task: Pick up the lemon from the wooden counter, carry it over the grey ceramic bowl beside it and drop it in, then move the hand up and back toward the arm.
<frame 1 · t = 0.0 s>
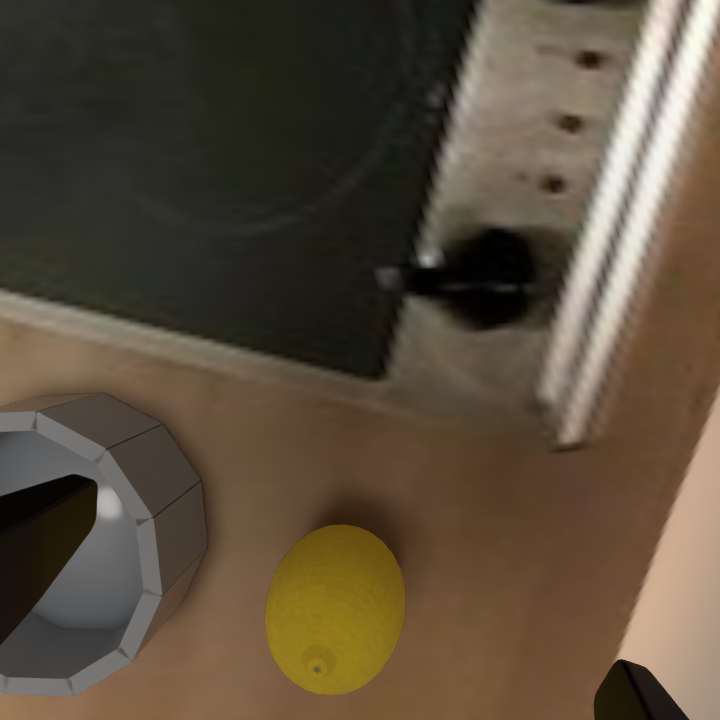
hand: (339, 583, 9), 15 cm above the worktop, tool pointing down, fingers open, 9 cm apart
lemon: (352, 551, 25), on the worktop
bowl: (88, 515, 26), on the worktop
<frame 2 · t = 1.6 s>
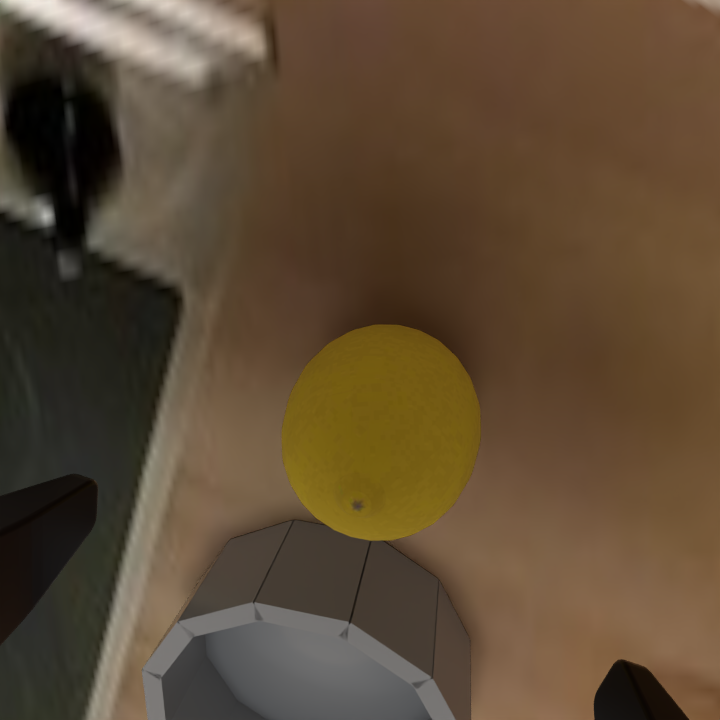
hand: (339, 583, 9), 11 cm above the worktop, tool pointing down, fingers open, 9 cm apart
lemon: (400, 370, 19), on the worktop
bowl: (326, 638, 24), on the worktop
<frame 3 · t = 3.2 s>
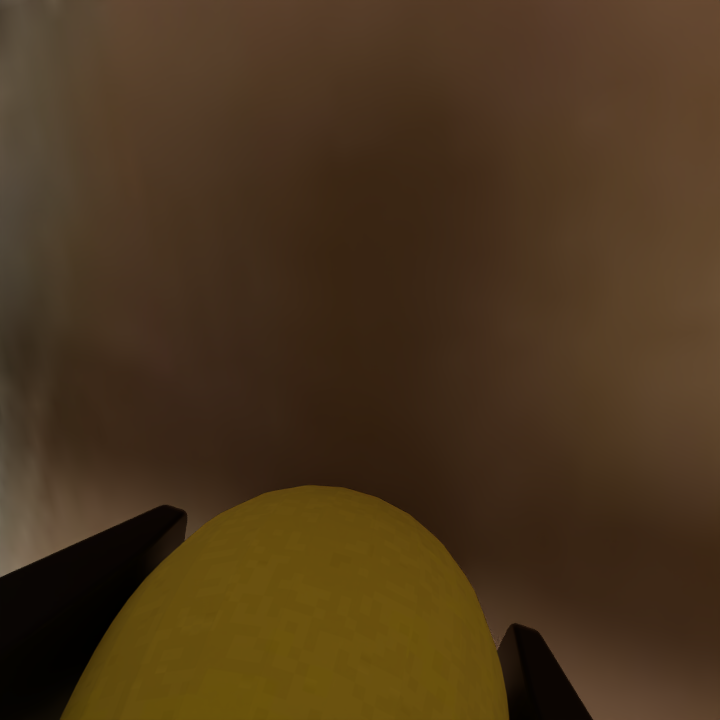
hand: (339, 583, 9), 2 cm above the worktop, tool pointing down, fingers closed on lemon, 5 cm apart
lemon: (358, 521, 11), on the worktop, touching gripper
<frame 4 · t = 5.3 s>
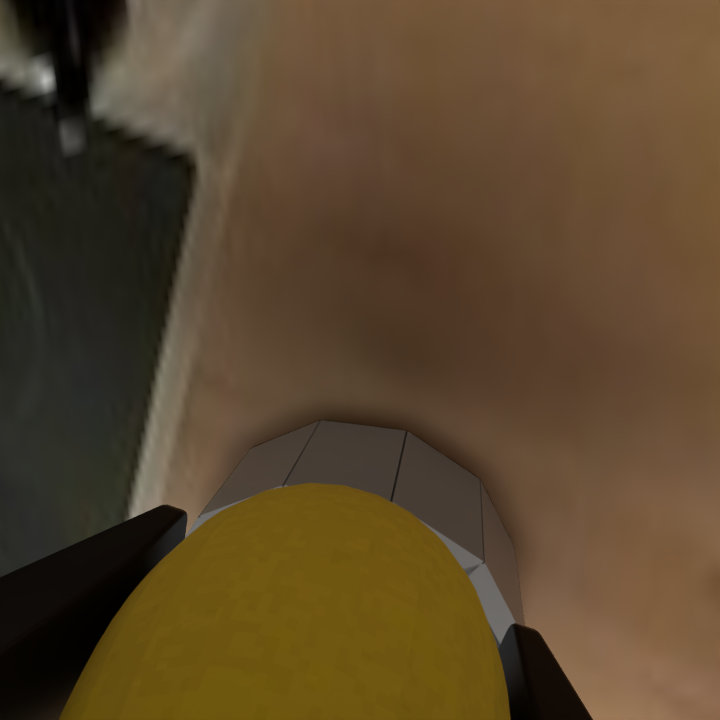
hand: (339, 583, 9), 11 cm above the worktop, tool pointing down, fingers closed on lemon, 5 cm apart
lemon: (358, 520, 11), point 9 cm above the worktop, touching gripper
bowl: (357, 556, 22), on the worktop
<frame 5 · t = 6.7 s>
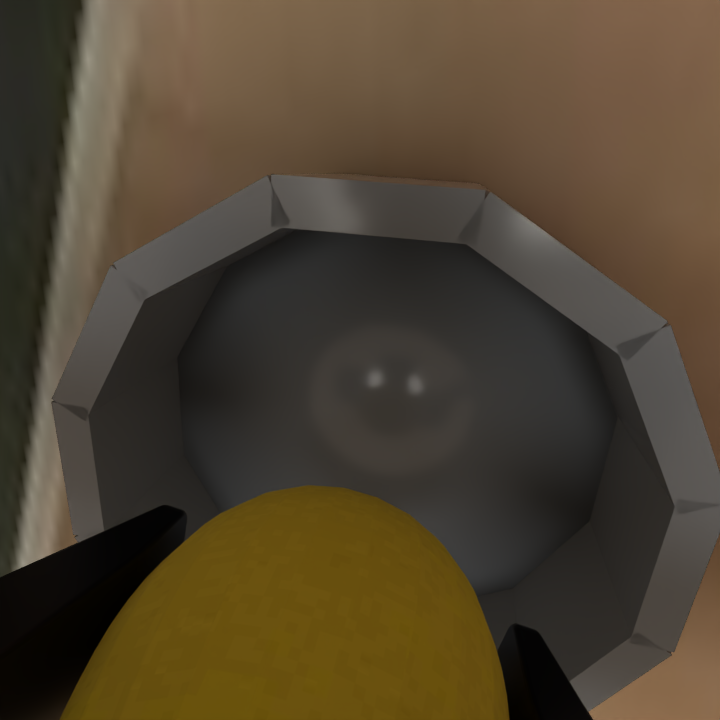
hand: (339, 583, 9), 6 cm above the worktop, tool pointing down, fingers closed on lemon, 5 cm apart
lemon: (358, 522, 11), point 4 cm above the worktop, touching gripper
bowl: (384, 419, 14), on the worktop
when the fingers open (5 cm above the worktop, at t = 7.6 s): lemon drops 2 cm, resting on bowl.
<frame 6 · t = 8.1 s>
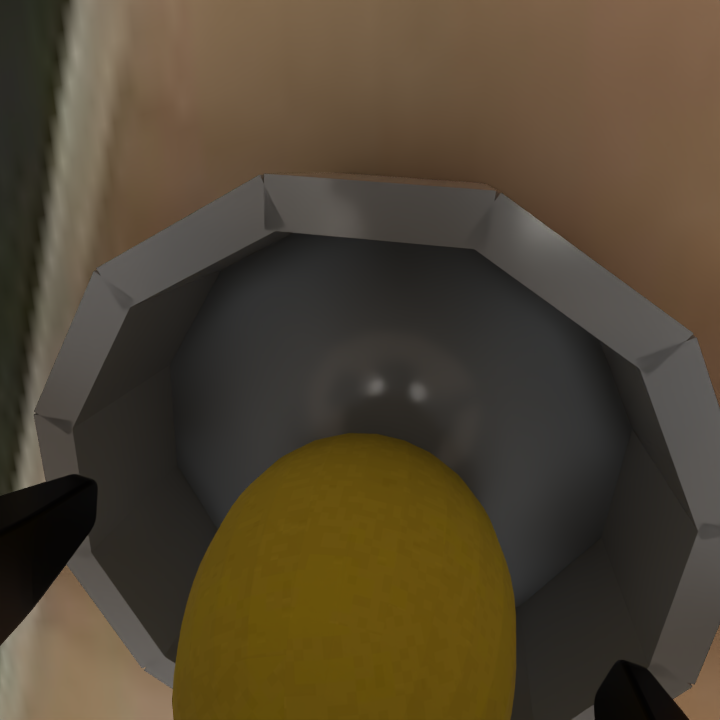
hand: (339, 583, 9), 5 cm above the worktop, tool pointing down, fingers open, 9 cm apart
lemon: (379, 465, 13), point 1 cm above the worktop, touching bowl
bowl: (385, 430, 14), on the worktop
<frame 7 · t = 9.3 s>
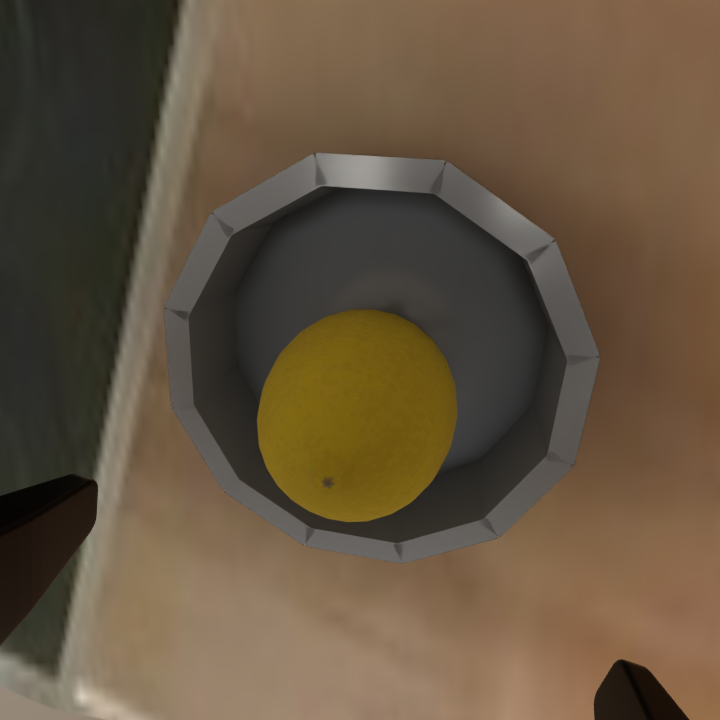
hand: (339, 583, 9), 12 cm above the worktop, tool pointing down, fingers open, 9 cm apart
lemon: (382, 359, 19), point 1 cm above the worktop, touching bowl
bowl: (385, 339, 19), on the worktop
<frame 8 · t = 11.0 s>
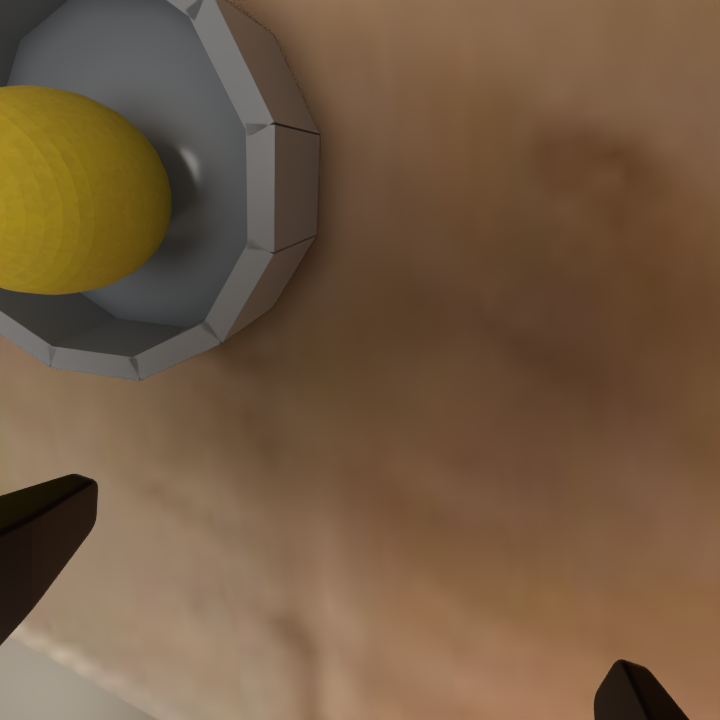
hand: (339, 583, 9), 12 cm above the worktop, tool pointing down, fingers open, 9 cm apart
lemon: (144, 189, 19), point 1 cm above the worktop, touching bowl
bowl: (154, 173, 19), on the worktop
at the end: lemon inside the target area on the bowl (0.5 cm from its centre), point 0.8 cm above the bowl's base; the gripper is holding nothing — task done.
